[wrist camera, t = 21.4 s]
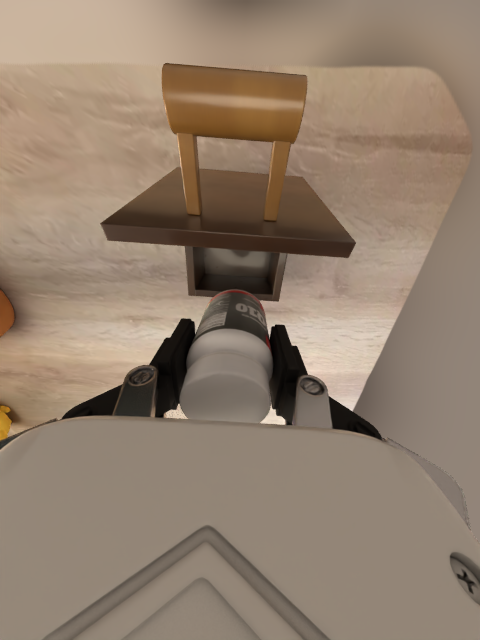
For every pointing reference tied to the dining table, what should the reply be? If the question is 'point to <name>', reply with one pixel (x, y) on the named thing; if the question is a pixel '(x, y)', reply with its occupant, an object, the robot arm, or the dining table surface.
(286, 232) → the lid
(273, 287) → the chest
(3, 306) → the flower pot
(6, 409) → the teapot
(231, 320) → the pill bottle
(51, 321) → the dining table surface
